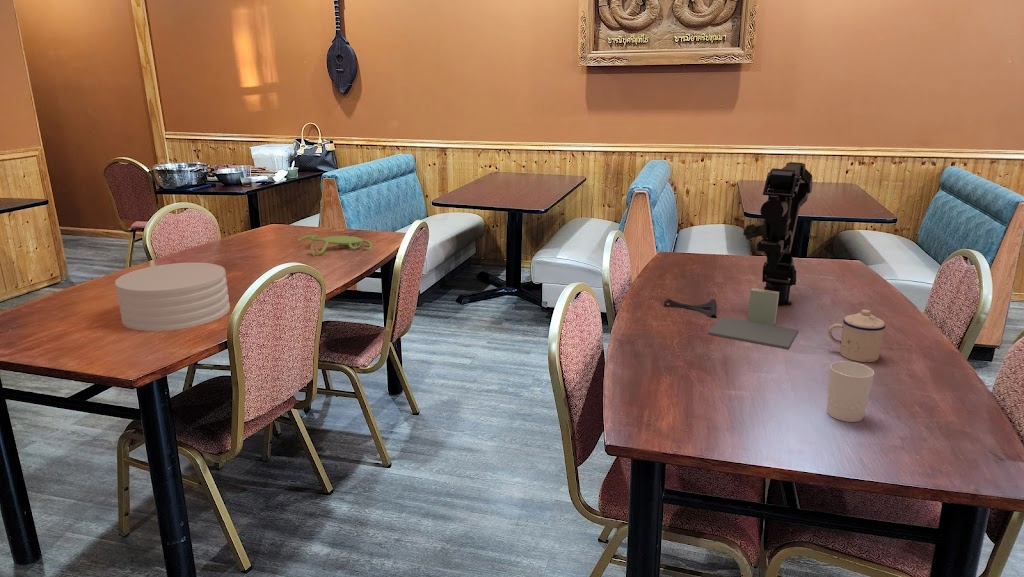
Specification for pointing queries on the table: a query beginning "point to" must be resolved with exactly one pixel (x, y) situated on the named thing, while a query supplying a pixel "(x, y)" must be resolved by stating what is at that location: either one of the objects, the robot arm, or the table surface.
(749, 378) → the table surface
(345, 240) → the figurine
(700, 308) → the bracket
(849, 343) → the teacup with lid
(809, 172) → the robot arm
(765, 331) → the mat
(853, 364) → the white cup
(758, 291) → the tile
